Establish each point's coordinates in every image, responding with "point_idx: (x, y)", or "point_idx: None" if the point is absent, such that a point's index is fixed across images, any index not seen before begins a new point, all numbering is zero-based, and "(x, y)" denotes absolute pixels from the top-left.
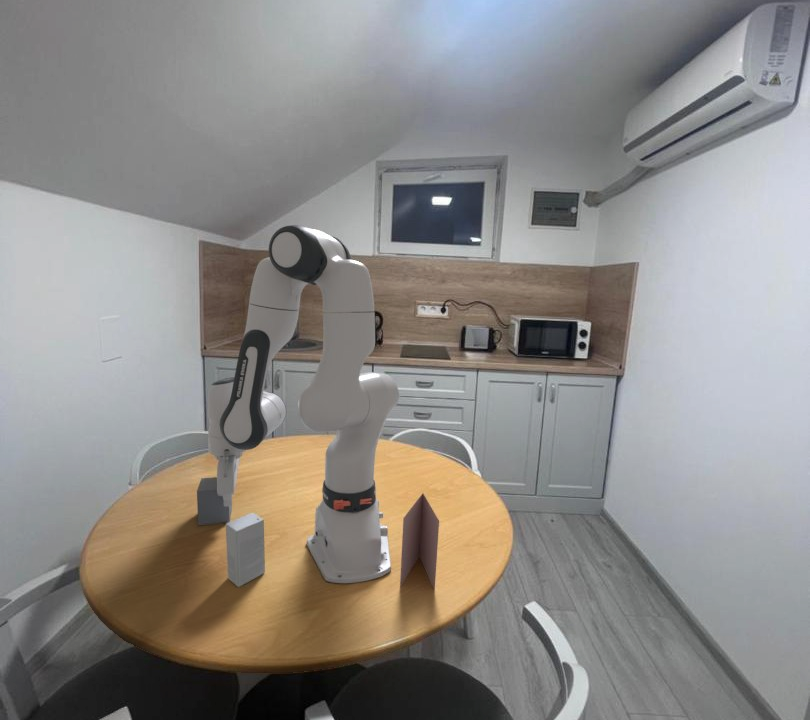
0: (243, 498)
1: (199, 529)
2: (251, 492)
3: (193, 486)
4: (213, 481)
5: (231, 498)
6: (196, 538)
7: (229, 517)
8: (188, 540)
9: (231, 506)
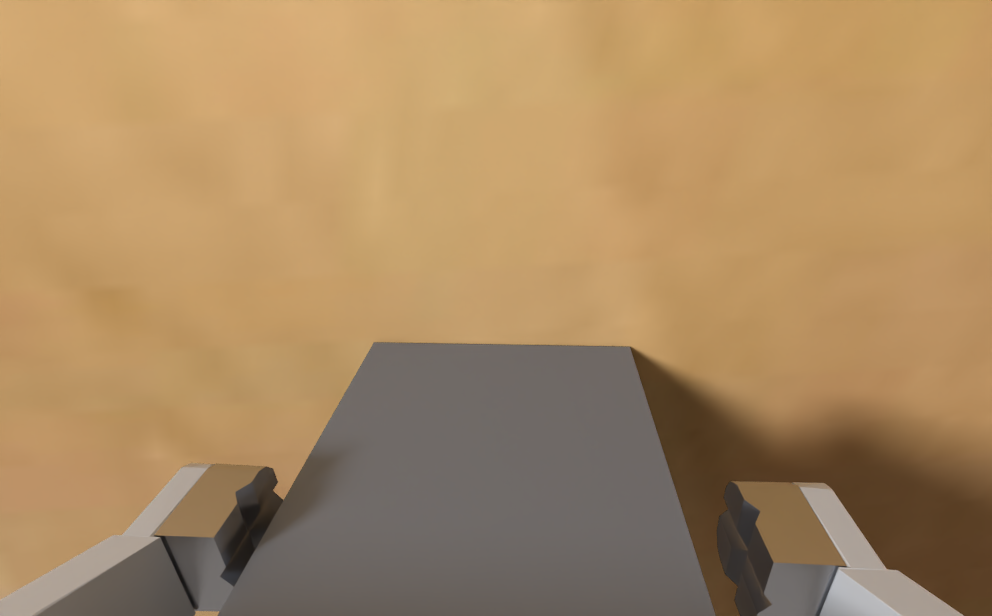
0: (191, 253)
1: None
2: (52, 180)
3: None
4: None
5: (919, 588)
6: None
7: (627, 368)
8: None
9: (400, 359)
